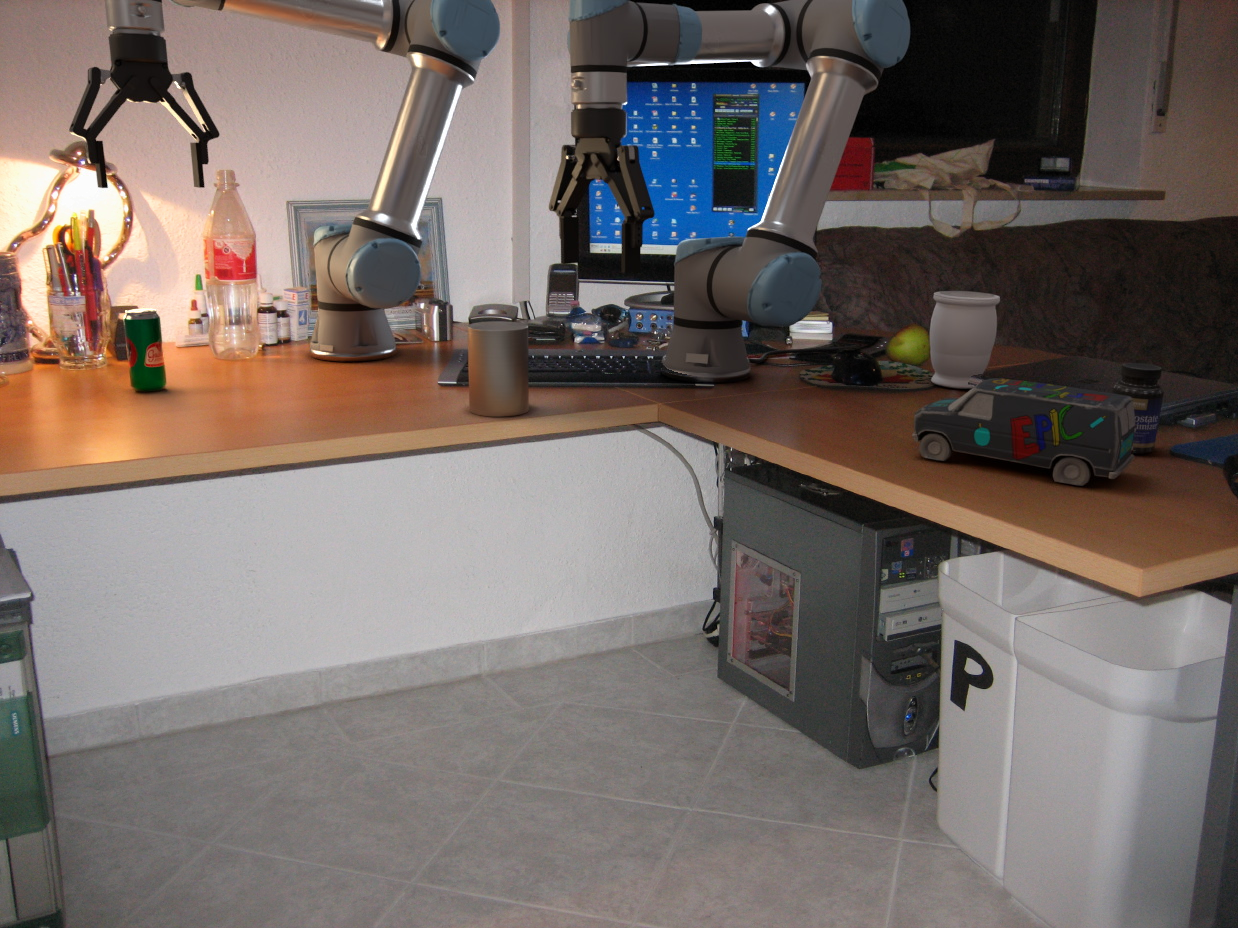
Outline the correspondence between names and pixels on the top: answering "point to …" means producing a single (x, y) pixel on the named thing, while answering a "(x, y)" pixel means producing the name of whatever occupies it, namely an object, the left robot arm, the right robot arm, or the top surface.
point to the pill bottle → (1142, 401)
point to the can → (498, 368)
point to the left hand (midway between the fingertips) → (152, 188)
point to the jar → (962, 336)
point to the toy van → (1033, 428)
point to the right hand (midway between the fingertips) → (599, 268)
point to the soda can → (145, 349)
